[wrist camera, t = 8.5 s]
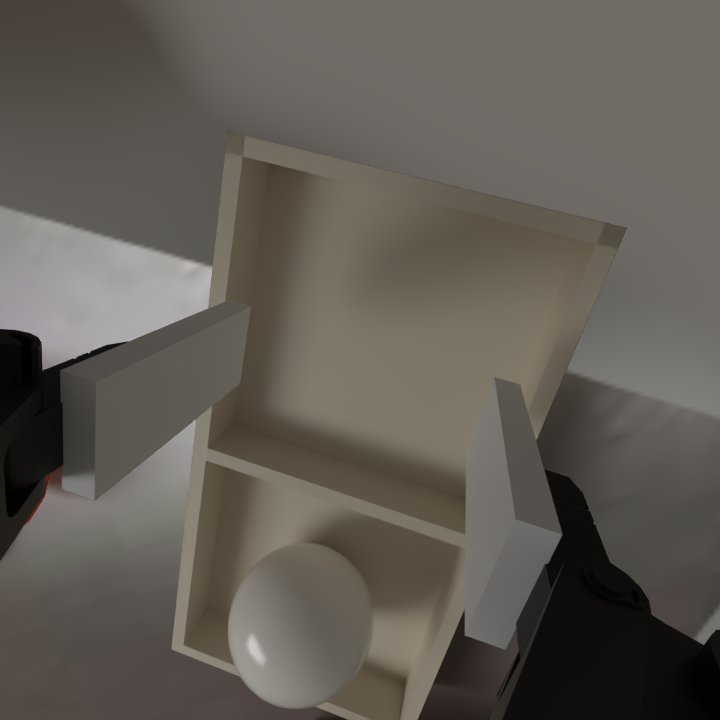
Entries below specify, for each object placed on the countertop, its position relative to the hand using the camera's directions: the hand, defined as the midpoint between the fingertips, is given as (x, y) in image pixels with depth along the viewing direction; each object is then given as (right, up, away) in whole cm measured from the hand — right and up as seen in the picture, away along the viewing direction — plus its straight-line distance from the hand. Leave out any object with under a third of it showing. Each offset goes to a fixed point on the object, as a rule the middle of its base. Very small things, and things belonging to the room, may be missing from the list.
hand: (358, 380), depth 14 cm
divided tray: (0, -4, +6) cm, 7 cm away
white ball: (-2, -9, +8) cm, 12 cm away
